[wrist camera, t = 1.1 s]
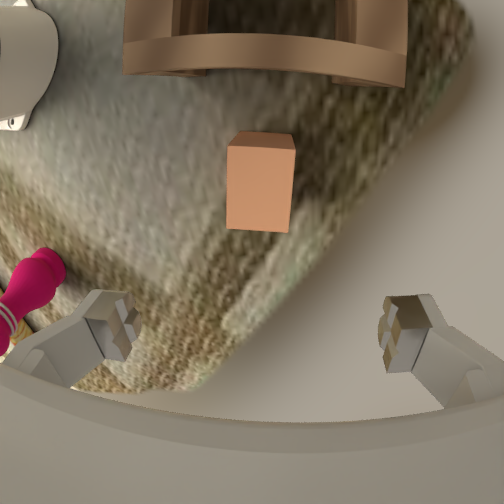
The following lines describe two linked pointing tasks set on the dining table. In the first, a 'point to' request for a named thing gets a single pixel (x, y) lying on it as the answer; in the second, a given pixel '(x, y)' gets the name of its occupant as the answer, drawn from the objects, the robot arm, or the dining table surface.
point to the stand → (268, 43)
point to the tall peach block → (260, 181)
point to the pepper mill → (29, 290)
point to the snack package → (19, 331)
